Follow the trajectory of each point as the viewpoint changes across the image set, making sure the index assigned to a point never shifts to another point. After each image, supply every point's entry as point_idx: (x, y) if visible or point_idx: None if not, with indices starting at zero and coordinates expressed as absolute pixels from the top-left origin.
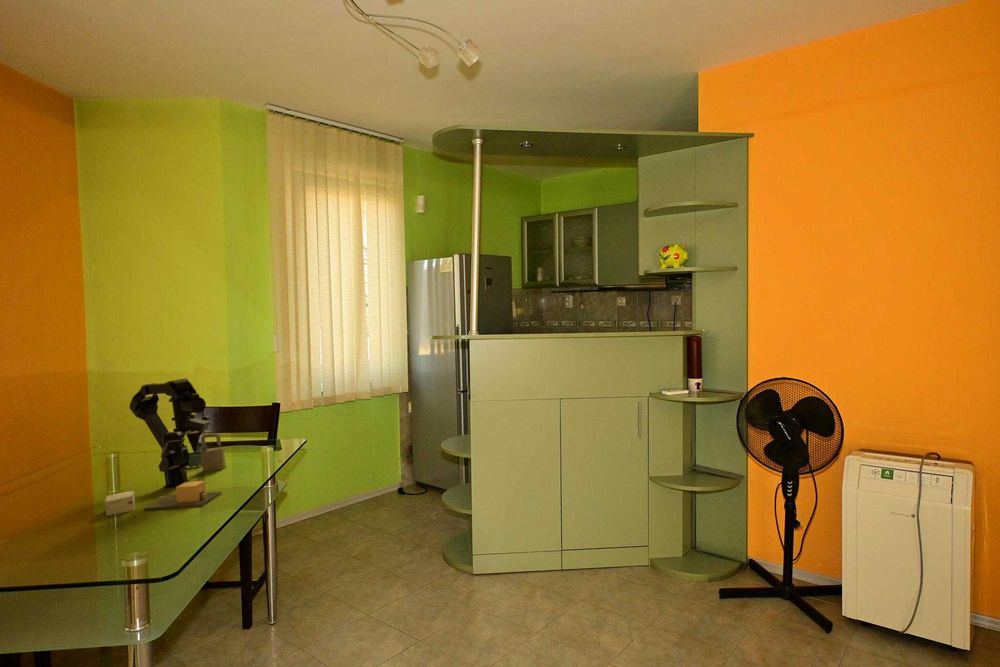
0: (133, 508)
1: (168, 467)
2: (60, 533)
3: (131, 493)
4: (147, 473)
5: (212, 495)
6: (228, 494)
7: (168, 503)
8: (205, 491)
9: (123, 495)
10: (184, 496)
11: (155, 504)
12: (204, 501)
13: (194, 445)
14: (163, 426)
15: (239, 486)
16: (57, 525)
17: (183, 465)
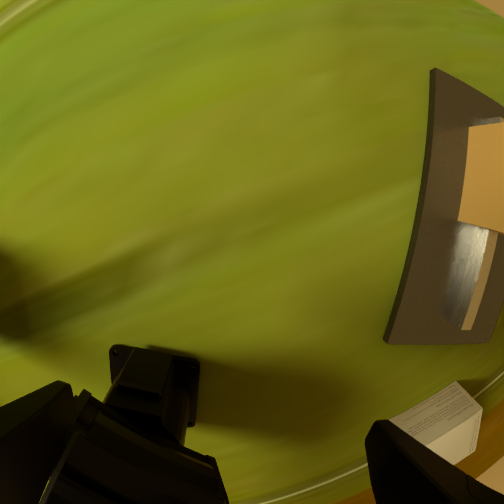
0: (458, 383)
1: (216, 472)
2: (497, 433)
3: (453, 431)
4: None
5: (472, 100)
6: (441, 43)
7: (492, 270)
8: (484, 126)
9: (457, 441)
10: None
11: (477, 321)
12: None
13: (35, 448)
14: None
15: (339, 5)
16: None
17: (110, 414)
